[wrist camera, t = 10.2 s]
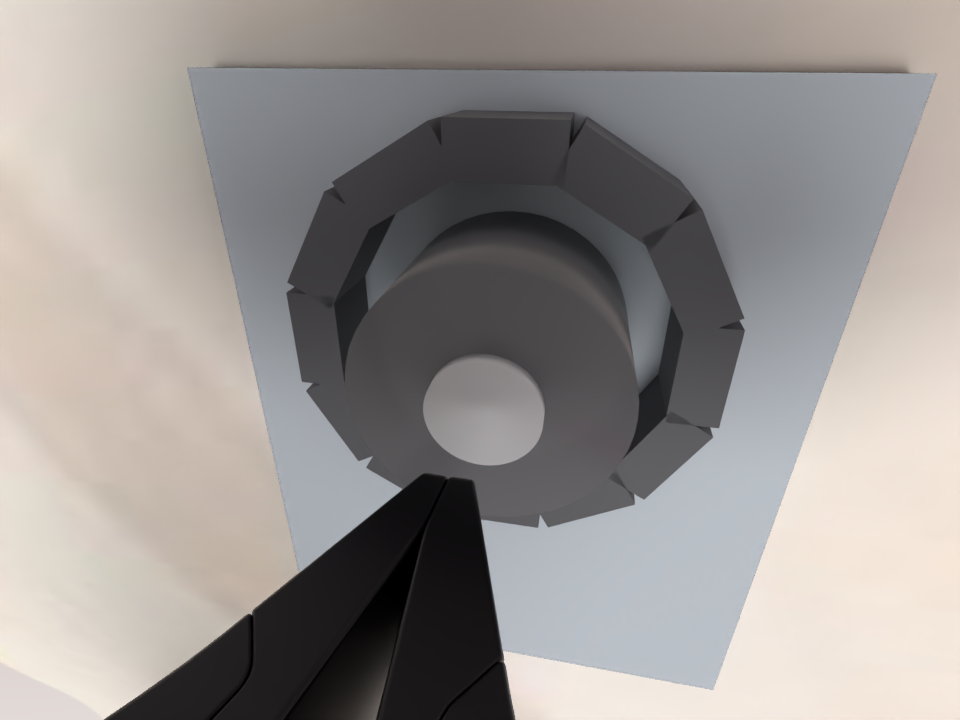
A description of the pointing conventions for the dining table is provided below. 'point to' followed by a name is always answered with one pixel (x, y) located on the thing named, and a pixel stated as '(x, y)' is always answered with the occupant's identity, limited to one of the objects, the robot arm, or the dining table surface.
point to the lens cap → (499, 365)
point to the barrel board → (641, 274)
